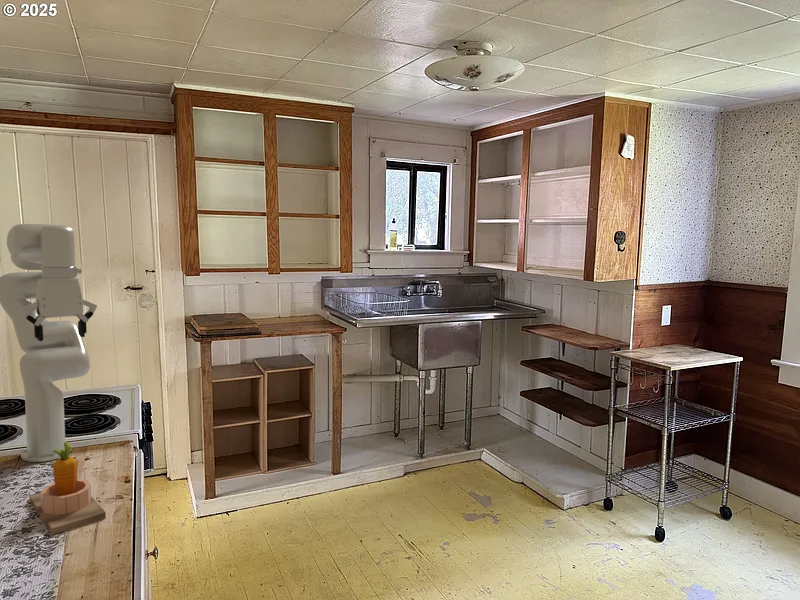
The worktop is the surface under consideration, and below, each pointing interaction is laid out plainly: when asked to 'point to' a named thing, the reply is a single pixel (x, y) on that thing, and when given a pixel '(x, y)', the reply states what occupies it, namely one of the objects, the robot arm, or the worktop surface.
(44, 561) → the worktop surface
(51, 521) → the walnut board
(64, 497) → the terracotta cup
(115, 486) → the worktop surface
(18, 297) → the robot arm
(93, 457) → the worktop surface
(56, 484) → the carrot
